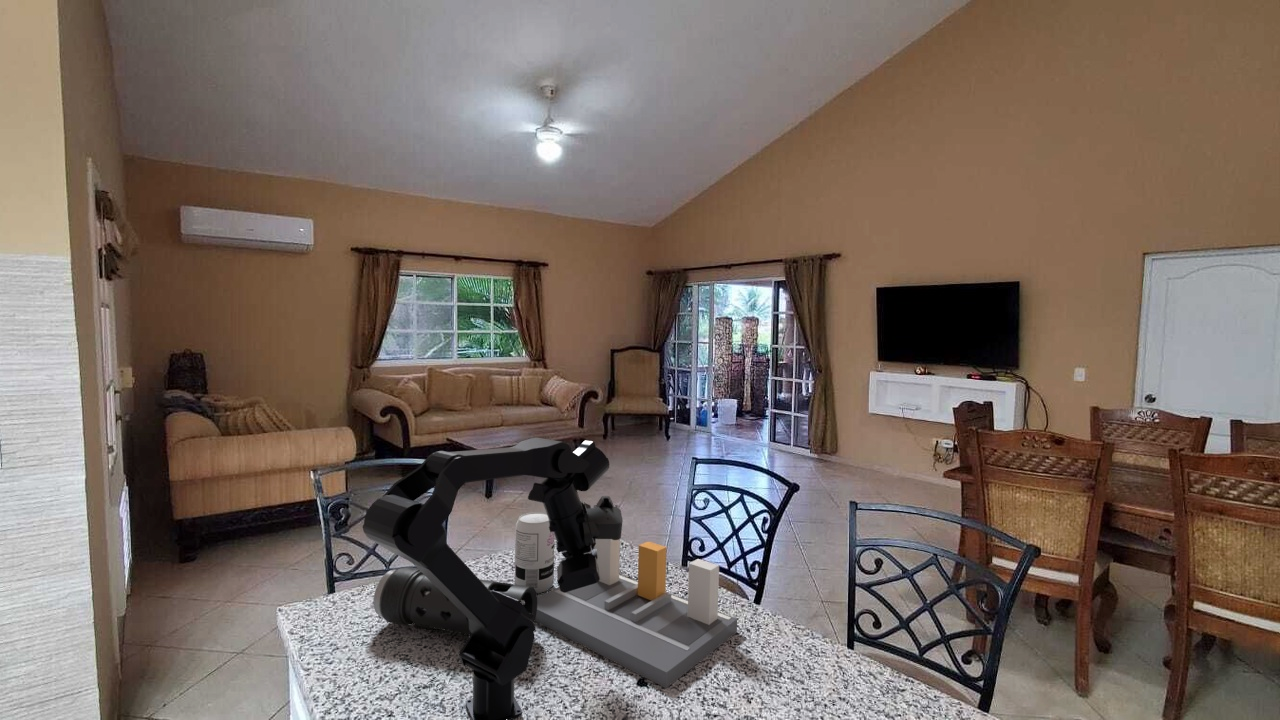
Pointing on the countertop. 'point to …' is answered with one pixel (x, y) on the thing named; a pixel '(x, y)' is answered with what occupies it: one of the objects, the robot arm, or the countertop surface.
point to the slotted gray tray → (641, 619)
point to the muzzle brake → (433, 601)
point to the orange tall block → (651, 570)
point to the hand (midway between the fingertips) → (590, 582)
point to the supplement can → (534, 552)
